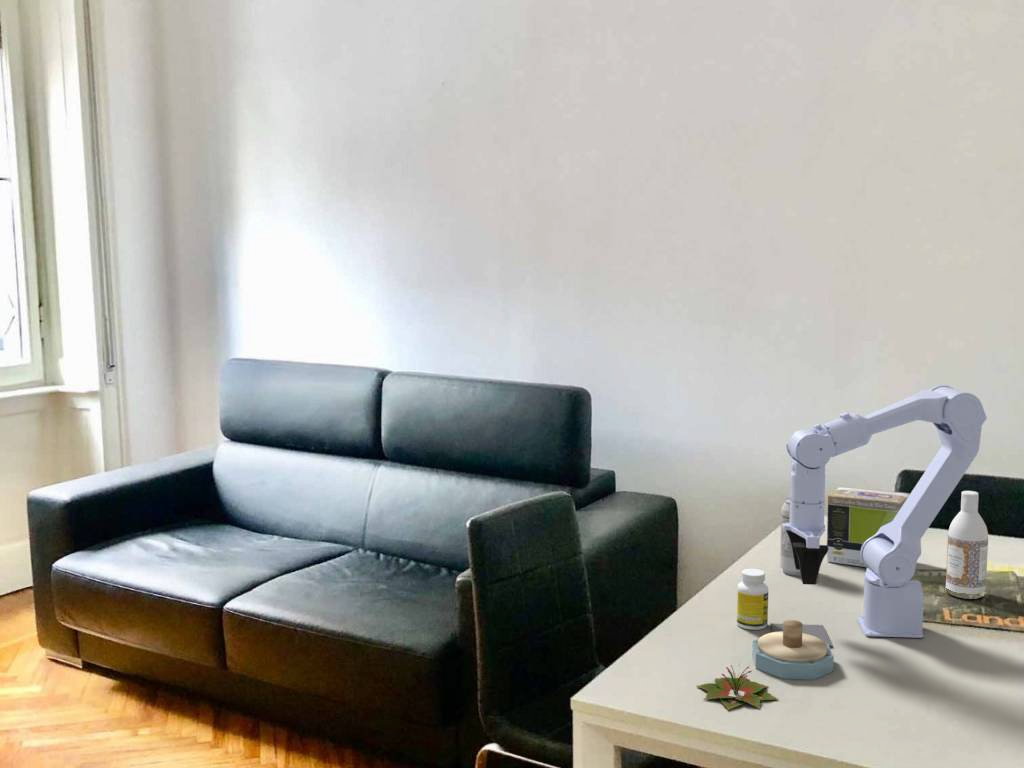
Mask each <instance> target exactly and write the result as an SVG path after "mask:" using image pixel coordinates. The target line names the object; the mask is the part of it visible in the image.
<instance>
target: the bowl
mask: <svg viewBox="0 0 1024 768" xmlns="http://www.w3.org/2000/svg"><path fill="white" fill-rule="evenodd" d="M758 640H759V638H758V639H755V640H752V659H753V663H755V664H754V667H756V668H755V669H756V670H759V671H762V672H764V673H766V674H769V675H772V676H774V677H776V678H779V679H783V680H785V679H786V680H806V681H807V680H808V681H809V680H810V681H811V680H813V681H815V680H817V679H819V678H821V677H823V676H826V675H828V674H830V673H833V672H834V660H835V659H834V658H835V657H834V654H833V652H832V650H831V649H832V648H830V647H829V645H828V644H827V643H826V645H827V655H826V656H825V657H823V658H822V659H819V660H816V661H811V662H788V661H782V660H778V659H775V658H772V657H769V656H767V655H765V654H764V653H762V652H761V651H760V650H759V648H758Z"/></svg>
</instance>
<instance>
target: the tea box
mask: <svg viewBox="0 0 1024 768" xmlns="http://www.w3.org/2000/svg"><path fill="white" fill-rule="evenodd" d="M910 494H911V492H909V493H908V492H901V491H899V492H898V491H890V490H881V489H869V488H868V489H867V488H860V487H849V486H839V487H837V488H836V489H835V490H834V491H832V492H831V493H830V494H828V495H827V516H826V517H827V522H826V523H827V527H826V530H827V531H826V545H827V546H828V552H827V554H826V561H827V562H828V563H834V564H842V565H847V566H849V565H850V566H856V567H863V568H867V566H866V565H865V564H864V563H863V561H862V559H861V555H860V552H861V547H862V545H863V544H864V542H865V541H866V540H867V539H869V538H870V537H872V536H874V535H875V534H876V533H877V532H878V530H879V529H880V527H882V526H884V525H886V524H888V523H890V522H892V521H893V519H894V518H895V516H896V515H897V513H898V512H899V510H900V509H901V507H902V506H903V504H904V503H905V501H906V500H907V498H908V497H909V495H910Z"/></svg>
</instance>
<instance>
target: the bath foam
mask: <svg viewBox="0 0 1024 768" xmlns="http://www.w3.org/2000/svg"><path fill="white" fill-rule="evenodd" d="M960 495H961V499H960V511H959V512H958V513H957V514H956V515H955V516H954V518H953V519H952V521H951V522H950V525H949V528H948V533H947V548H946V549H947V550H946V551H947V552H946V569H945V570H946V574H945V589H946V588H947V589H949V590H951V591H953V592H957V593H966V594H978V593H982V592H984V591H985V590H986V588H987V574H988V573H987V570H988V569H987V568H988V550H989V532H988V527H987V525H986V523H985V521H984V519H983V517H982V516H981V515H980V513H979V492H977V491H975V490H974V491H973V490H963V491H961V494H960ZM986 591H987V590H986ZM986 591H985V592H986Z"/></svg>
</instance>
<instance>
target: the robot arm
mask: <svg viewBox="0 0 1024 768" xmlns="http://www.w3.org/2000/svg"><path fill="white" fill-rule="evenodd" d="M839 417H840V418H837V419H836V418H835V419H833V420H831V421H829V422H826V423H823V424H820V423H816V424H814V425H813V429H807V428H803V429H799V430H797V431H795V432H793V433H792V435H791V436H790V437H789V440H788V443H787V444H785V446H786V452H787V453H788V455H789V456H790V458H791V462H790V463H791V464H790V466H791V467H790V468H791V469H790V486H789V487H790V488H789V489H790V491H789V492H790V494H789V495H790V496H789V498H790V522H789V523H783V524H782V527H783V529H784V530H786V532H787V534H788V536H789V539H790V542H791V546H792V550H793V557H794V563H795V567H796V570H800V574H801V576H800V579H801V582H802V585H816V584H817V581H818V576H819V572H820V569H821V566H822V563H823V560H824V559H825V557H826V556H827V552H828V546H827V544H826V545H825V544H820V541H821V540H820V539H821V537H822V536H823V534H824V533H825V531H826V525H825V506H826V504H825V503H826V501H825V500H826V497H825V496H826V465H827V464H828V463H829V461H830V460H831V458H835V457H837V456H839V455H842V454H845V453H848V452H850V451H853V450H855V449H858V448H860V447H863V446H867V445H868V443H869V442H870V440H871V438H872V436H873V435H875V434H879V433H882V432H885V431H887V430H891V429H893V428H897V427H900V426H904V425H906V424H910V423H913V422H915V421H921V422H922V421H924V422H927V423H932V424H933V425H934V426H935V428H936V430H937V434H938V437H939V439H940V443H941V447H940V449H939V450H938V451H937V453H936V454H935V456H934V457H933V458H932V461H931V462H930V464H929V465H928V466H927V468H926V470H924V473H923V474H922V475H921V477H920V479H919V480H918V481H917V483H916V485H915V486H914V487H913V489H912V490H911V492H910V495H909V497H908V498H907V500H906V501H905V503H904V504H903V506H902V507H901V509H900V510H899V512H898V513H897V515H896V516H895V518H894V519H893V521H892V522H890V523H888V524H886V525H884V526H882V527H880V529H879V530H878V532H877V533H876V534H875V535H874V536H872V537H870V538H869V539H867V540H866V541H865V542H864V544H863V545H862V547H861V552H860V555H861V559H862V561H863V563H864V564H865V565H866V566H867V567H866V571H865V574H864V584H863V585H864V586H863V587H864V588H863V616H857V617H856V620H857V622H858V624H859V626H860V628H861V630H862V631H863V633H864V634H865V636H866V637H880V638H881V637H882V638H883V637H885V638H892V637H893V638H913V639H915V638H916V639H918V638H919V639H921V638H924V635H923V621H924V592H923V587H922V584H921V582H920V581H919V580H912V579H913V577H914V575H915V573H916V566H917V562H918V560H919V558H920V557H921V555H922V543H921V542H922V541H921V540H922V538H923V537H924V534H925V533H926V532H927V531H928V528H929V527H930V526H931V525H932V523H933V521H934V520H935V518H936V517H937V516H938V514H939V512H940V511H941V509H943V507H944V505H945V503H946V502H947V500H948V499H949V497H950V496H951V494H952V493H953V492H954V490H955V488H956V487H957V485H958V484H959V483H960V481H961V479H962V478H963V476H964V474H965V473H966V472H967V470H968V469H969V468H970V466H971V464H972V463H973V461H974V460H975V459H976V457H977V455H978V454H979V452H980V446H981V445H980V443H981V437H982V429H983V424H984V423H985V422H986V420H987V414H986V412H985V409H984V407H983V404H982V402H981V400H980V398H979V397H977V395H975V394H973V393H970V392H966V391H965V392H964V391H961V390H958V389H955V388H953V387H951V386H949V385H943V384H942V385H941V384H939V385H937V386H934V387H933V388H931V389H930V388H928V389H923V390H920V391H918V392H917V393H915V394H913V395H911V396H909V397H907V398H904V399H902V400H899V401H897V402H895V403H892V404H891V405H887V406H886V407H884V408H881V409H878V410H876V411H874V412H872V413H869V414H867V415H864V416H862V415H860V414H858V413H856V412H853V413H849V412H847V411H845V412H842V413H840V414H839Z"/></svg>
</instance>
